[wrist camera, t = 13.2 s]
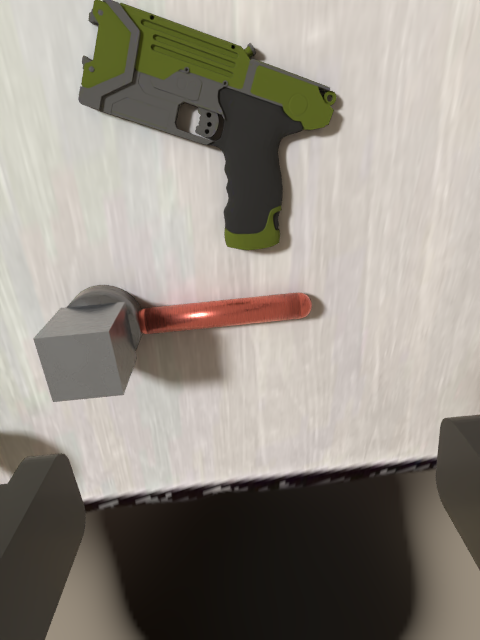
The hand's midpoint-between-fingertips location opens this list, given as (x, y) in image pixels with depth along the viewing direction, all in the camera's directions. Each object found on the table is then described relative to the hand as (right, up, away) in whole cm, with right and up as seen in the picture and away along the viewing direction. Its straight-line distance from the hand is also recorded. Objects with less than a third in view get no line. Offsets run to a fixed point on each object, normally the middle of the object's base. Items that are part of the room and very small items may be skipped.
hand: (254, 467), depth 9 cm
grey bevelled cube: (-13, +2, +29) cm, 31 cm away
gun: (-4, +18, +26) cm, 32 cm away
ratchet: (-5, +4, +32) cm, 32 cm away
